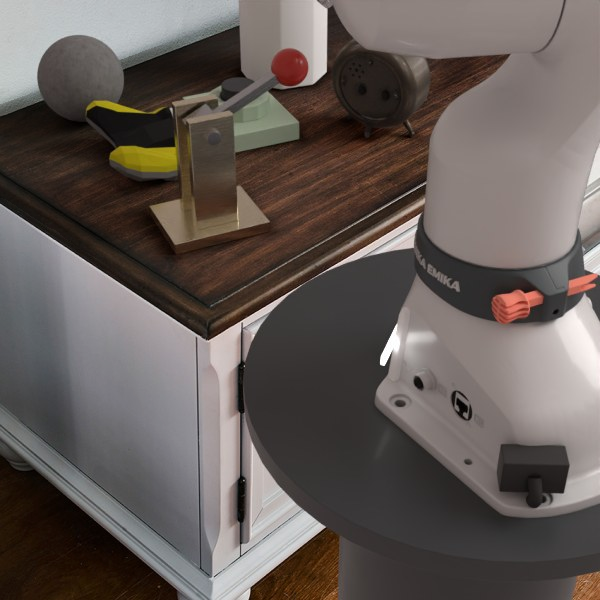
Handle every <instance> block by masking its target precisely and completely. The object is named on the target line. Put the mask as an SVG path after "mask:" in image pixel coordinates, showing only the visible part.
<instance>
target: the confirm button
mask: <svg viewBox="0 0 600 600" xmlns="http://www.w3.org/2000/svg"><path fill="white" fill-rule="evenodd" d="M253 83H254V81H253V80H251V79H249V78H247V77H230V78H226V79H225V80H223V81H222V82H221V84H220V86H221V90H222V100H223V101H225V102H226V101H227V100H229V99H230V98H232V97H233V96H235V95H236V94H238V93H239V92H241V91H242V90H244V89H245V88H247V87H248V86H250V85H251V84H253Z"/></svg>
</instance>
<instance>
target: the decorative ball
mask: <svg viewBox="0 0 600 600" xmlns="http://www.w3.org/2000/svg"><path fill="white" fill-rule="evenodd" d="M44 51H45V52H44V53H42V55H41V58H40V60H39V63H38V66H37V72H36V81H37V86H38V90H39V93H40V96H41V97H42V99H43V101H44V103H45V104H46V105H47V106H48V108H50V109H51V110H52V111H53V112H54V113H56V114H57V115H58V116H60V117H62V118H64V119H66V120H69V121H73V122H83V123H85V122H86V123H88V122H87V121H86V109H87V107H88V105H89V104H91V103H92V102H93V101H110V102H113V103H116V104H119V100H121V96H122V95H123V90H124V85H125V75H124V70H123V66H122V64H121V61H120V59H119V57H118V56H117V54H116V53H115V52H114V51H113V50H112V48H111V47H110V46H109V45H107V44H106V43H105V42H103V41H101V40H100V39H98V38H96V37H93V36H89V35H85V34H72V35H68V36H65V37H62V38H60V39H57V40H56V41H55V42H53V43H52V44H50V45H49V46H48V48H47V49H46V50H44Z"/></svg>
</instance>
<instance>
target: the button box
mask: <svg viewBox="0 0 600 600" xmlns="http://www.w3.org/2000/svg"><path fill="white" fill-rule="evenodd" d="M212 94H215V95H216V96H217V97H218V106H220V105H221V104H223V103H224V102H225V101H223V100H222V90H221V85H219V86H217V87H216V88H214V89H212V90H211V91H208V92H203V93H198V94H193V95H187V96H182V100H186V99H191V98H197V97H202V96H207V95H212ZM233 116H234V138H235V154H237V153H241V152H246V151H250V150H255V149H259V148H265V147H268V146H274V145H277V144H282V143H287V142H293V141H297V140H300V122H299V120H298V119H297V118H296V117H295V116H293V114H292V113H291V112H290V111H288V110H287V108H286V107H284V106H283V104H281V103H280V102H279V100H277V99H276V98H275V97H274V96H273V95H272V94H271V93H270V92H269V91H267V92H266V93H264V94H263V95H261V96H260V97H258V98H257V99H255V100H254V101H252V102H251V103H249V104H248V105H246V106H245V107H243V108H242V109H240V110H239V111H237V112H236V113H234V114H233Z"/></svg>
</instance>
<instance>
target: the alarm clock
mask: <svg viewBox="0 0 600 600" xmlns="http://www.w3.org/2000/svg"><path fill="white" fill-rule="evenodd" d="M431 81H432V80H431V71H430V66H429V63H428V61H427V58H423V57H414V56H406V55H399V54H392V53H386V52H380V51H374V50H368V49H365V48H364V47H363V46H361V45H360V44H359V43H358V42H357V41H356V40H355V39H354V38H353V37H352V39H351V40H350V41H348V42H347V43H346V44H344V45H343V46H342V47H341V48H340V50H339V51H338V53H337V54H336V55H335V57H334V60H333V63H332V68H331V82H332V88H333V91H334V94H335V96H336V98H337V100H338V102H339V103H340V105H341V106H342V108H343V109H344V110H345V112H346V114H345V118H346V119H347V120H348V119H351V118H353V119H355V120H356V121H358V122H359V123H361V124H363V125H365V129H364V131H365V132H364V137H365V138H366V139H369V138H370V136H371V132H372V128H373V129H374V128H375V129H391V128H395V127H398V126H400V125H403V126H404V128H405V129H406V130H407V132H408V135H409V136H410V137H411V138H413V137H414V136H415V135H416V132H415V131H413V127H412V124H411V122H410V121H409V118H410V117H411V116H412V115H414V113H416V112H417V111H418V110H419V109H420V108H421V107H422V106H423V105H424V103H425V102H426V100H427V99H428V96H429V93H430V90H431Z"/></svg>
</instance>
